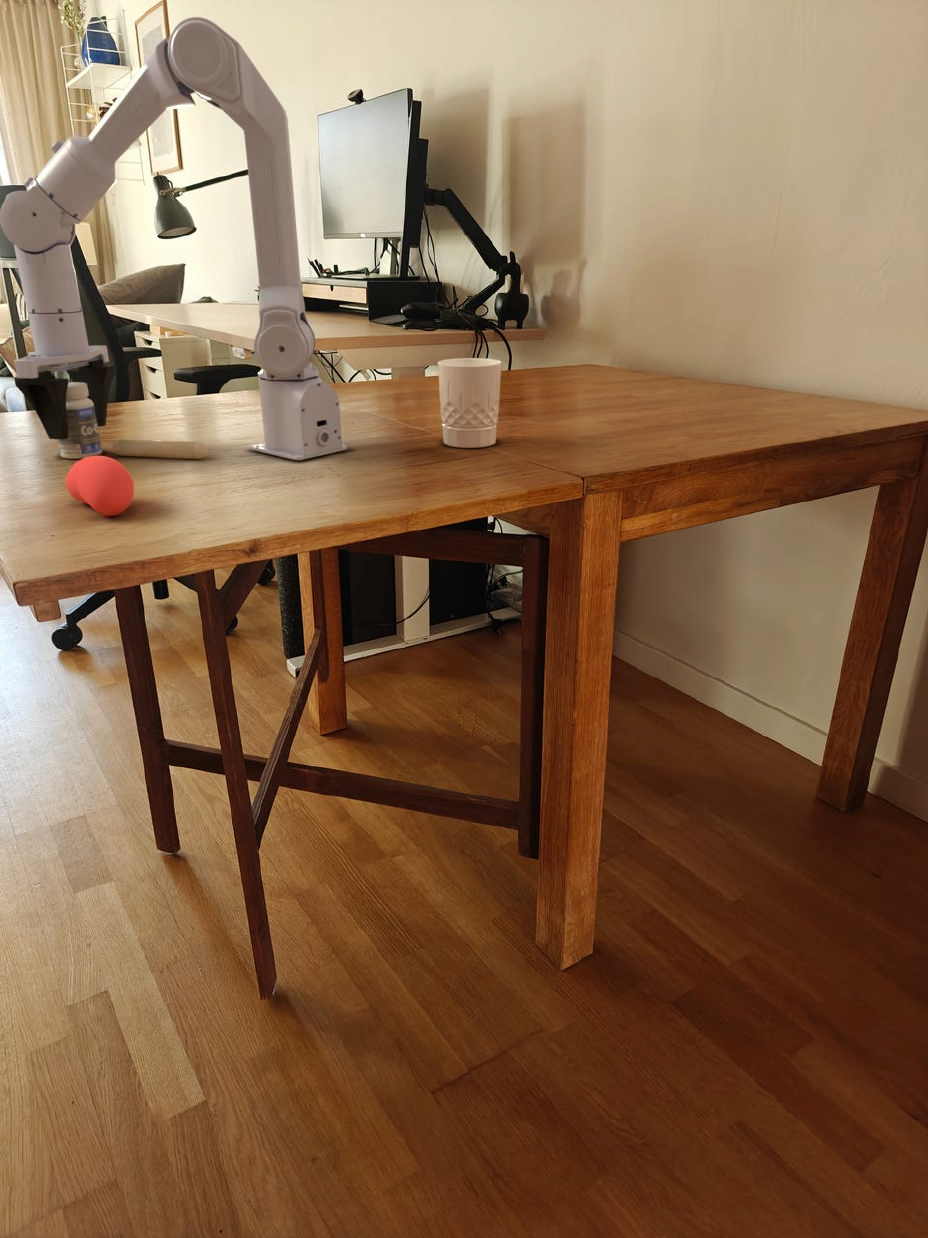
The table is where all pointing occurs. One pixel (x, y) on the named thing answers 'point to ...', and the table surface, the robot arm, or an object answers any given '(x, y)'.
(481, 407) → the white cup
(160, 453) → the dowel
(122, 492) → the stress ball
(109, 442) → the table surface
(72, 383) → the pill bottle
